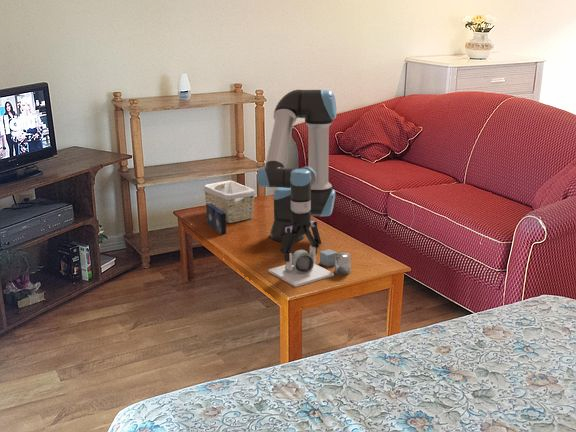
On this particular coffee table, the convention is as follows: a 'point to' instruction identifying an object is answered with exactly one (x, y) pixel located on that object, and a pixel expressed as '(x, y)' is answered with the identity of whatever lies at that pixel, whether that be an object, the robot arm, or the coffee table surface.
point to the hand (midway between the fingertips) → (301, 265)
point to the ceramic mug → (301, 262)
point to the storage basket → (231, 200)
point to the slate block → (327, 257)
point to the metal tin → (342, 263)
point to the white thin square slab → (301, 275)
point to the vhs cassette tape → (216, 218)
